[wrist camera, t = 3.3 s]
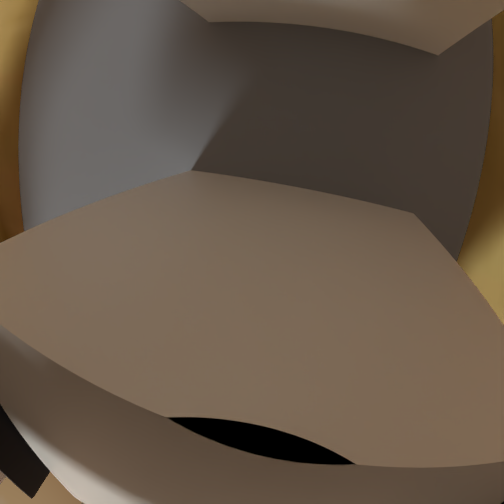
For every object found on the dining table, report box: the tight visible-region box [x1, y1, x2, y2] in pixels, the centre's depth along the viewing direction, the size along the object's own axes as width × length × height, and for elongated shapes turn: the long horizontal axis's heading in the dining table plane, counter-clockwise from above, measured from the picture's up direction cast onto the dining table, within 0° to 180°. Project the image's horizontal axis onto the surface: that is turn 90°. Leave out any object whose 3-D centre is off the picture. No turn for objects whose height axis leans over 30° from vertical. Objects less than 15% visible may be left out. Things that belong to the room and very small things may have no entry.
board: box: [19, 0, 493, 262], centre depth 9 cm, size 22×19×1 cm
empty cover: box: [0, 170, 504, 504], centre depth 7 cm, size 7×7×8 cm
